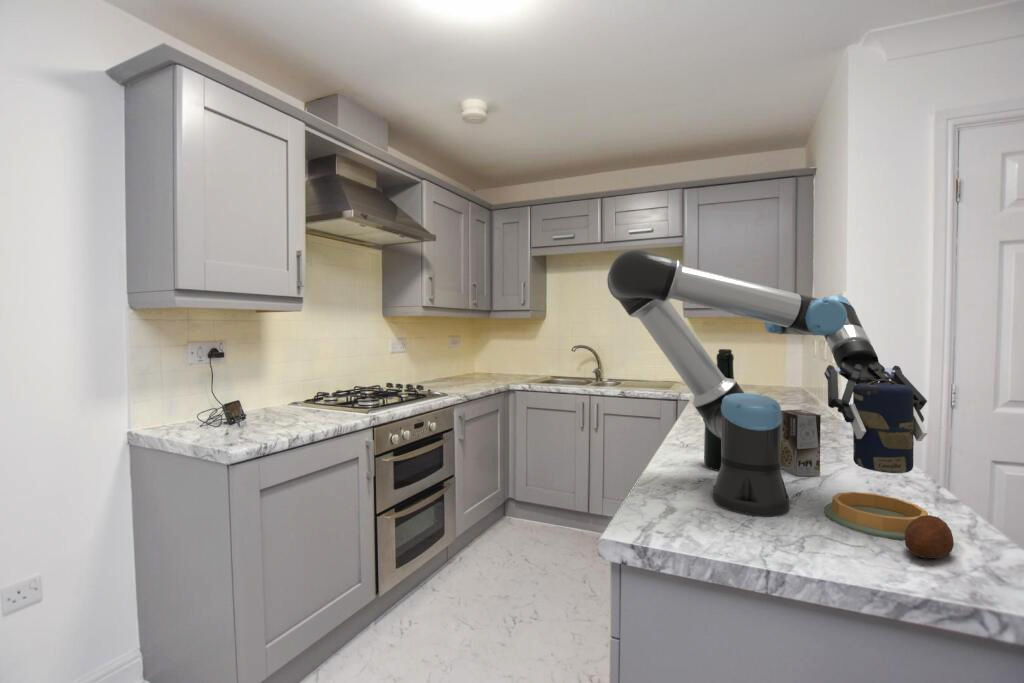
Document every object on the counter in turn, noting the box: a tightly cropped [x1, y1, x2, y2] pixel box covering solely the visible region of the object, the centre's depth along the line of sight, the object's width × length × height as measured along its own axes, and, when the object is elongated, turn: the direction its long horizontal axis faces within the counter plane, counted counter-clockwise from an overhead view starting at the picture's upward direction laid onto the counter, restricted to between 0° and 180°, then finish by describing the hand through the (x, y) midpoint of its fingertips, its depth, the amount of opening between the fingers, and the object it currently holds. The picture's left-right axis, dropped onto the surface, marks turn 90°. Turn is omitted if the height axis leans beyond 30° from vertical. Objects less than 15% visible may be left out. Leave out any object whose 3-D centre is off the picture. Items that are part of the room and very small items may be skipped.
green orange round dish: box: [823, 491, 929, 541], centre depth 95 cm, size 18×18×3 cm
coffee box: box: [780, 409, 822, 477], centre depth 128 cm, size 9×6×16 cm
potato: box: [904, 514, 955, 559], centre depth 81 cm, size 6×12×6 cm, turn 125°
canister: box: [852, 379, 915, 474], centre depth 94 cm, size 10×10×18 cm
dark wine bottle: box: [703, 348, 735, 471], centre depth 132 cm, size 10×10×33 cm
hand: (891, 436), depth 91 cm, fingers closed on canister, 9 cm apart
